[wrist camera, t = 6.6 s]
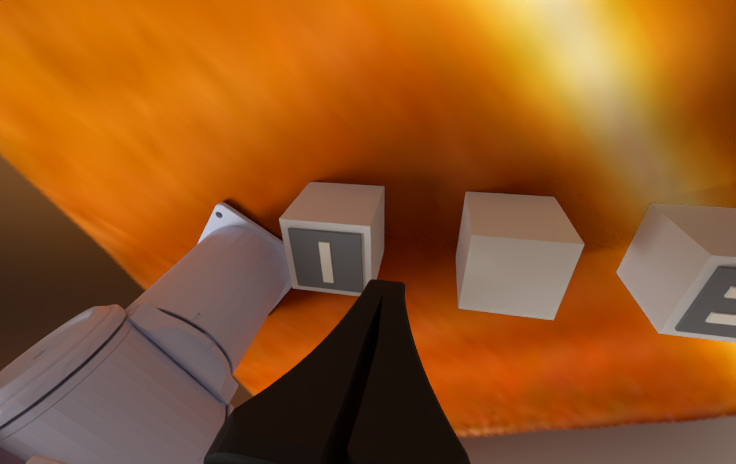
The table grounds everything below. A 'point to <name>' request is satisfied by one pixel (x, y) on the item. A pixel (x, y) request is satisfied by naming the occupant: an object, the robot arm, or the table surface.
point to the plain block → (514, 254)
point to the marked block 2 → (685, 270)
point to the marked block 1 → (334, 237)
